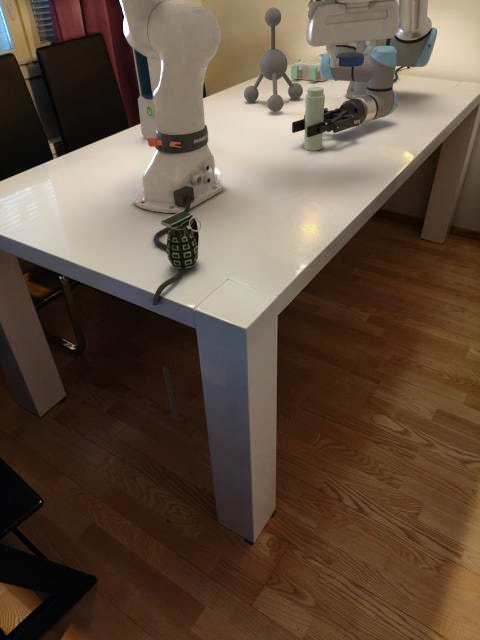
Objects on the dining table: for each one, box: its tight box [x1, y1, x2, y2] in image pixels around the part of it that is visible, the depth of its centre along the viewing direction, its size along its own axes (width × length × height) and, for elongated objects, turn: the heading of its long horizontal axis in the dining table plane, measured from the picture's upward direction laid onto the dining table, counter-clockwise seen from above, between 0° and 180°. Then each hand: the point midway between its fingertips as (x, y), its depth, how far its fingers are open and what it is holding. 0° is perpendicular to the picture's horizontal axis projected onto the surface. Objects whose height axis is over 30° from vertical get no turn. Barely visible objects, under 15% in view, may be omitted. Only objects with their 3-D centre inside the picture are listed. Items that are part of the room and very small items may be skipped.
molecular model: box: [243, 6, 304, 113], centre depth 169 cm, size 24×22×30 cm
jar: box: [303, 86, 326, 152], centre depth 135 cm, size 5×5×16 cm
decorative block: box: [290, 53, 328, 82], centre depth 209 cm, size 26×6×20 cm
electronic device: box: [132, 48, 161, 140], centre depth 143 cm, size 12×8×30 cm, turn 47°
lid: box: [337, 52, 364, 67], centre depth 108 cm, size 6×6×2 cm
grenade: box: [159, 211, 202, 271], centre depth 88 cm, size 7×6×10 cm
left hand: (349, 65), depth 109 cm, fingers closed on lid, 6 cm apart
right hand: (300, 129), depth 133 cm, fingers closed on jar, 5 cm apart
